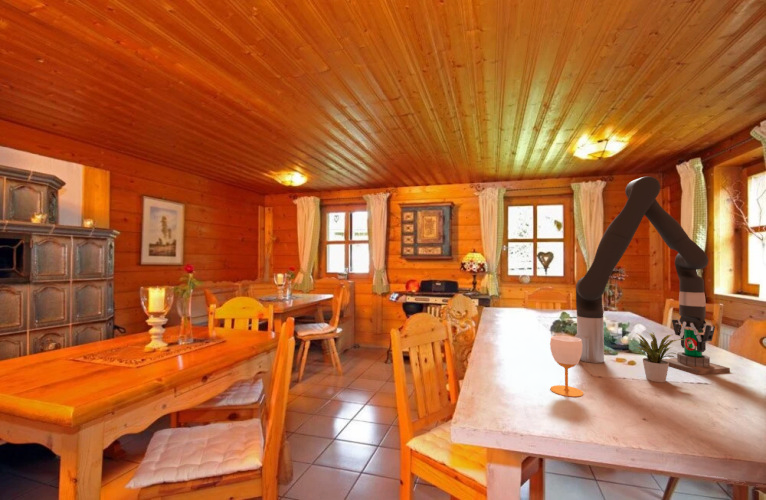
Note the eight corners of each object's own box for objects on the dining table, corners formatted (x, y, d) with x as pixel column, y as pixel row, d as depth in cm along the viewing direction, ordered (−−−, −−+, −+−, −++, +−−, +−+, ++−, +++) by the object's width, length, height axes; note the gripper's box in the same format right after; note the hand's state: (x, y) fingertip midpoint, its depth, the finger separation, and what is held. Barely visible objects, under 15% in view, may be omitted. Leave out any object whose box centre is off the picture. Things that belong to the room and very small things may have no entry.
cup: (580, 388, 112) (579, 336, 112) (586, 398, 103) (585, 342, 103) (548, 384, 115) (548, 334, 115) (552, 394, 106) (551, 340, 106)
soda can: (695, 357, 135) (694, 325, 135) (706, 361, 130) (705, 327, 130) (681, 356, 136) (680, 325, 136) (691, 360, 131) (690, 327, 131)
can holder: (698, 374, 125) (697, 361, 125) (659, 363, 138) (659, 351, 138) (729, 372, 127) (729, 359, 127) (689, 361, 141) (689, 349, 141)
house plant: (690, 379, 119) (689, 330, 120) (687, 391, 109) (686, 337, 110) (637, 370, 129) (637, 325, 129) (631, 380, 119) (630, 330, 119)
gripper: (665, 302, 140) (666, 345, 139) (704, 306, 125) (705, 355, 125) (680, 301, 141) (681, 344, 141) (721, 306, 127) (722, 354, 126)
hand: (693, 349), depth 133 cm, fingers closed on soda can, 5 cm apart
